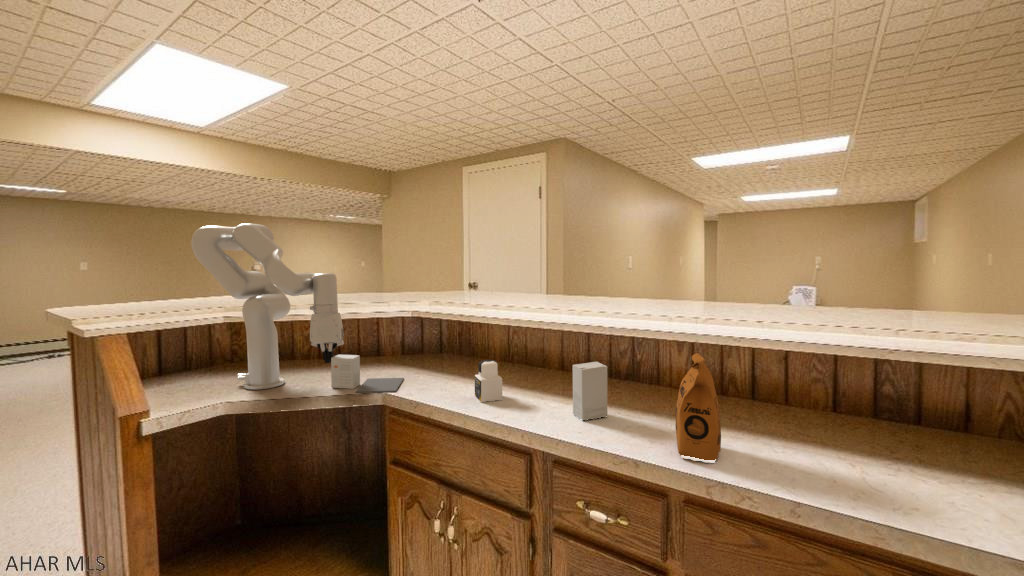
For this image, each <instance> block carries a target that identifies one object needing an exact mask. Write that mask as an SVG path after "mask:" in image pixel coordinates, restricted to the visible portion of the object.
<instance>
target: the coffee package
mask: <svg viewBox="0 0 1024 576" xmlns="http://www.w3.org/2000/svg"><path fill="white" fill-rule="evenodd" d="M691 360H692V362H693V364H692V365H691V368H690V369H689V370H688V371H687V373H686V374H685V375H684V377H683V378H682V380H681V382H680V385H679V391H678V396H677V399H676V400H677V401H676V406H675V407H676V408H675V415H674V416H675V436H676V445H677V451H678V455H679V454H680V455H684V456H690V457H695V458H699V459H704V460H715V459H717V460H718V458H719V453H720V452H721V449H722V447H721V446H722V445H721V444H722V429H721V427H722V426H721V425H722V424H721V414H720V406H719V400H718V395H717V391H716V387H715V382H714V378H713V376H712V373H711V371H710V369H709V368H708V367H707V365H706V363H705V361H706V359H705V358H704V357H703V356H701V354H700V353H699V352H695V353H694V354H692V356H691ZM680 455H679V456H680Z"/></svg>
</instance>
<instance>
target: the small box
mask: <svg viewBox="0 0 1024 576" xmlns="http://www.w3.org/2000/svg"><path fill="white" fill-rule="evenodd" d="M330 367H331V368H330V370H331V371H330V373H331V377H330V378H331V379H330V380H331V381H330V382H331V388H333V389H350V390H351V389H352V390H353V389H356V388H357V387H358V386H359V385H360V386H361V356H360V354H359V355H357V354H340V353H339V354H337V355H333V357H332V358H331V363H330Z"/></svg>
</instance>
